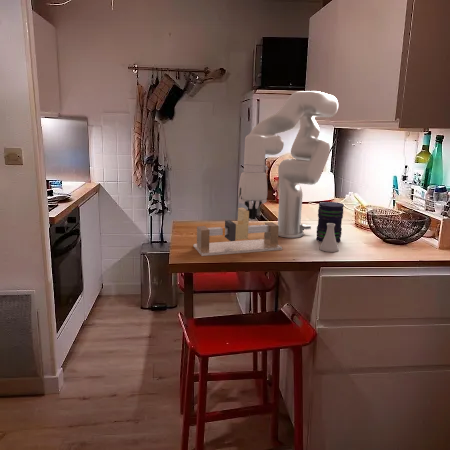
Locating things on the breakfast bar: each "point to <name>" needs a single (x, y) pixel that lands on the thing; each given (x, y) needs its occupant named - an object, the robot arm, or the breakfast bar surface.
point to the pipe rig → (237, 246)
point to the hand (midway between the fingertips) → (252, 218)
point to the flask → (329, 240)
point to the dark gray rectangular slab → (230, 230)
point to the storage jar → (329, 219)
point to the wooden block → (242, 224)
